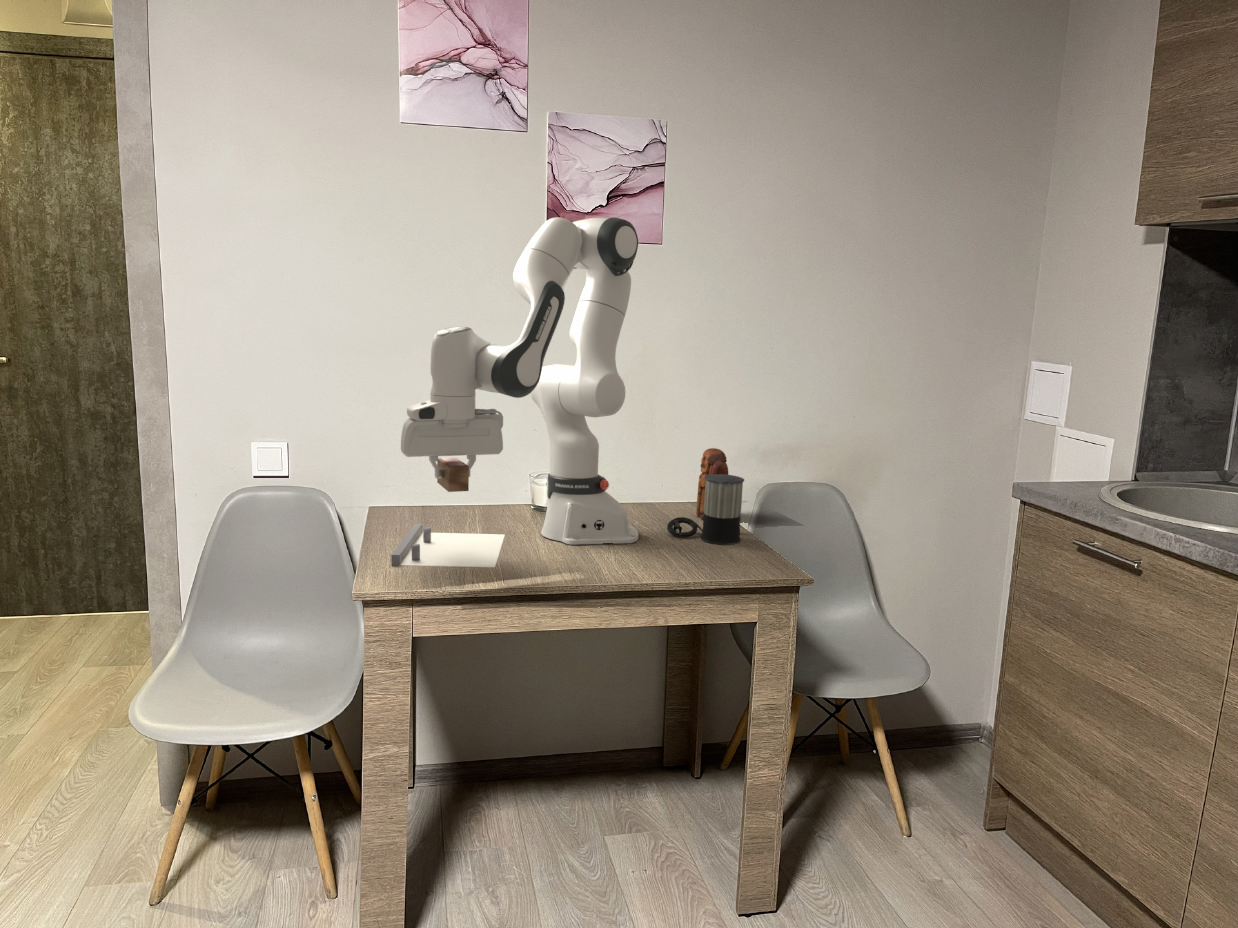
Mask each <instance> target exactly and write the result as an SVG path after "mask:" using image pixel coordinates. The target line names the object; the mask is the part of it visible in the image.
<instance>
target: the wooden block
mask: <svg viewBox="0 0 1238 928" xmlns="http://www.w3.org/2000/svg"><path fill="white" fill-rule="evenodd" d="M436 464H437V466H438V467H439V468H442V469H443V470H444V473H443V475H444V478H436V480H437V481H436V482H437V484H439V486H441V488H443V489H445V490H446V492H448V493H457V492H469V487H470V484H469V481H470V480H469V479H470V477H469V466H468V465H467V463H465V462H463V461H462V460H460V459H459V458H457V457H444V458H439V457H438V461H437V463H436Z"/></svg>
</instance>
